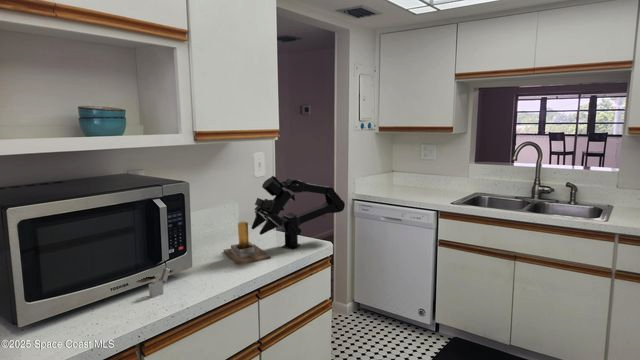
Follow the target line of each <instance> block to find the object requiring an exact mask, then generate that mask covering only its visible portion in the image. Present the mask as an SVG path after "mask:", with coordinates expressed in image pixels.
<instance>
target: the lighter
mask: <svg viewBox="0 0 640 360" xmlns="http://www.w3.org/2000/svg"><path fill="white" fill-rule="evenodd" d="M169 274H170V269H168V268H164V269H163V272H162V275H161V276H160V277H159V278H155V279H153V280H152V281H151V283H149V284H148V292H149V293H148V294H149V298H151V299H153V298H155V297H159V296H160V295H164V283H163V282H167V280H168V277H169Z"/></svg>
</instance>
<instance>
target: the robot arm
mask: <svg viewBox="0 0 640 360" xmlns="http://www.w3.org/2000/svg"><path fill="white" fill-rule="evenodd" d="M261 187H262V188H263V190H264V191H266V192H267V193H268V194H269V195H270V196H271V197H273V199H267V198H264V199H262V198H259V197H257V198H256V199H255V200H256V201H255V203H254V206H255V208H254V213H255V217H254V219H253V220H254V221H253V223H252V225H251V227H250V229H251V230H255V229H257V228H258V227H259V226H261V225H262V224H263V223H264V225H263V226H262V227H261V229H260V231H259V233H258V234H259V235H263V234H265V233H268V232H269V231H270V232H271V230H274V229H276V228H278V227H279V229H281V231H282V232H283V233H284V244H283V245H281V248H283V249H291V250H296V249H297V248H299V247H300V246H302V244H301V243H299V240H298V239H299V236H298V235H301V233H302V229H301V228H300V226H301V225H302V224H304V223H307V222H310V221H312V220H314V219H317V218H319V217H323V216H325V215H327V214H336V213H337V214H338V213H341V212H343V211H344V209H345V206H346V204H345V202H344V200H343V199H342V197H340V196H339V194H338V193H337V192H336V190H335V189H334V188H333V187H332V186H330V185H321V184H314V183H309V182H305V181H302V180H299V179H297V178H296V179H295V178H293V177H288V178H286V179H285V181H279V179H277V177H276V176H275V175H272V176H271V177H269V178H267V179H266V180H264V182H263V183H262V186H261ZM290 192H291V193H290ZM305 192H306V193H315V194H320V195H324V199H325V201H324V203H323V204H321V205H319V206H315V207H313V208H311V209H309V210H305V211H303V212H301V213H298V214H295V213H294V212H288V213H286V214H282V216H279V214H280V213H281V212H284V210H285V206H286V205H287V204H288V203H289V201H290V200H291V201H293V202H295V201H296V198H295V194H296V193H297V194H299V193H300V194H301V193H305Z"/></svg>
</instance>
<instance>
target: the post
mask: <svg viewBox="0 0 640 360" xmlns="http://www.w3.org/2000/svg"><path fill="white" fill-rule="evenodd" d="M237 231H238V232H237V233H238V244H239V250H240V249H246V248H249V242H250V241H249V222H248V221H240V222H237Z"/></svg>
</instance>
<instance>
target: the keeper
mask: <svg viewBox="0 0 640 360" xmlns="http://www.w3.org/2000/svg"><path fill="white" fill-rule="evenodd" d="M223 253H224V254H225V255H226V256H227V257H228V258H230V260H232V261H233V262H234V264H236V265H237V266H241V265H245V264H251V263H255V262H260V261H265V260H270V259H271V258H272V257H271V255H270V254H269V253H268V252H266V251H264V250H263V249H262V248H260V247H259V246H257V245H256V244H253V243H252V242H251V241H249V248H246V249H240V250H239V243H238V244H237V243H236V244H231V245H230V248H227V249H223Z"/></svg>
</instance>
